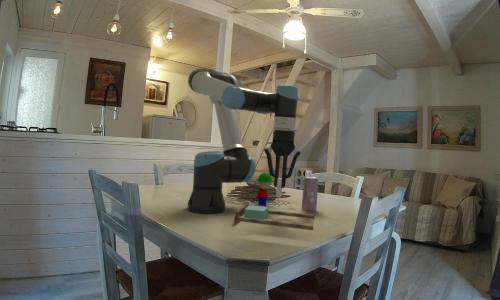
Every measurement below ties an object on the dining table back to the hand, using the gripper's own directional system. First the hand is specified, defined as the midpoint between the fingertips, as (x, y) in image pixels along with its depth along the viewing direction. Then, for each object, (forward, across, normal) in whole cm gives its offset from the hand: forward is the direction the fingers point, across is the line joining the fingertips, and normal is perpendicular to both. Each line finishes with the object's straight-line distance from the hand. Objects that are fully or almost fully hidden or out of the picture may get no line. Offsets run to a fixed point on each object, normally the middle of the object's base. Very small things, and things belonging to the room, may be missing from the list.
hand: (278, 196), depth 104 cm
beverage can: (+10, +10, +20) cm, 25 cm away
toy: (+10, -10, +25) cm, 29 cm away
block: (+8, -7, -1) cm, 11 cm away
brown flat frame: (+9, 0, -1) cm, 9 cm away
